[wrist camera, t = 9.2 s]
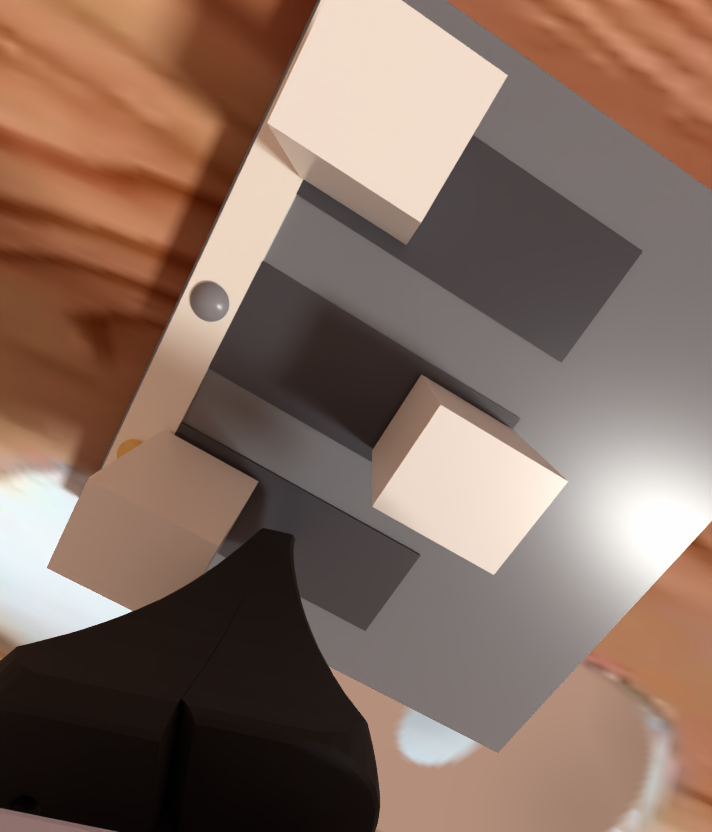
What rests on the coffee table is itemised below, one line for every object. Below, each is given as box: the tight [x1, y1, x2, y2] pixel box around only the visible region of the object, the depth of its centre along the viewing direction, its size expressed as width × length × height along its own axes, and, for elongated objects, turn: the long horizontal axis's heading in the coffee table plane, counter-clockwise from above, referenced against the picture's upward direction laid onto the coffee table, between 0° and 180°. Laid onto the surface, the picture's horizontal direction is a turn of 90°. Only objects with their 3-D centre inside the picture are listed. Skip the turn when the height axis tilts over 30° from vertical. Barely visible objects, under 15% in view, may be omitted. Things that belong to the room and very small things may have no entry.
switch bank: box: [98, 0, 712, 752], centre depth 13 cm, size 16×17×2 cm
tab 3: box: [372, 374, 568, 575], centre depth 10 cm, size 3×2×3 cm
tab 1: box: [47, 430, 259, 611], centre depth 11 cm, size 3×2×3 cm
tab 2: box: [267, 0, 508, 245], centre depth 9 cm, size 3×2×3 cm
